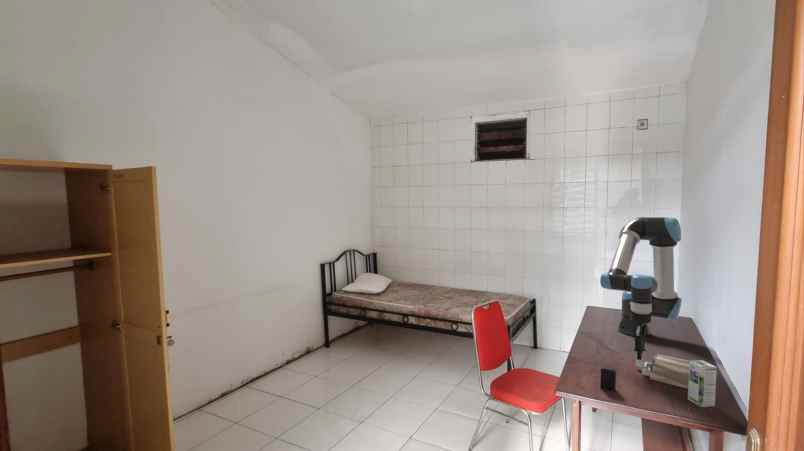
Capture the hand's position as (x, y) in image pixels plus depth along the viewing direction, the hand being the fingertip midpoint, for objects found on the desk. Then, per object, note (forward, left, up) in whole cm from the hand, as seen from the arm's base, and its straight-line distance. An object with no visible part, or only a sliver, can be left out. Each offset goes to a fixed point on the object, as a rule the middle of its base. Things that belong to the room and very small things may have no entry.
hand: (639, 366), depth 165 cm
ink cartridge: (+27, -6, -2) cm, 28 cm away
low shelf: (0, +12, -1) cm, 12 cm away
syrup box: (+18, +22, -2) cm, 28 cm away
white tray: (0, +9, -2) cm, 9 cm away
